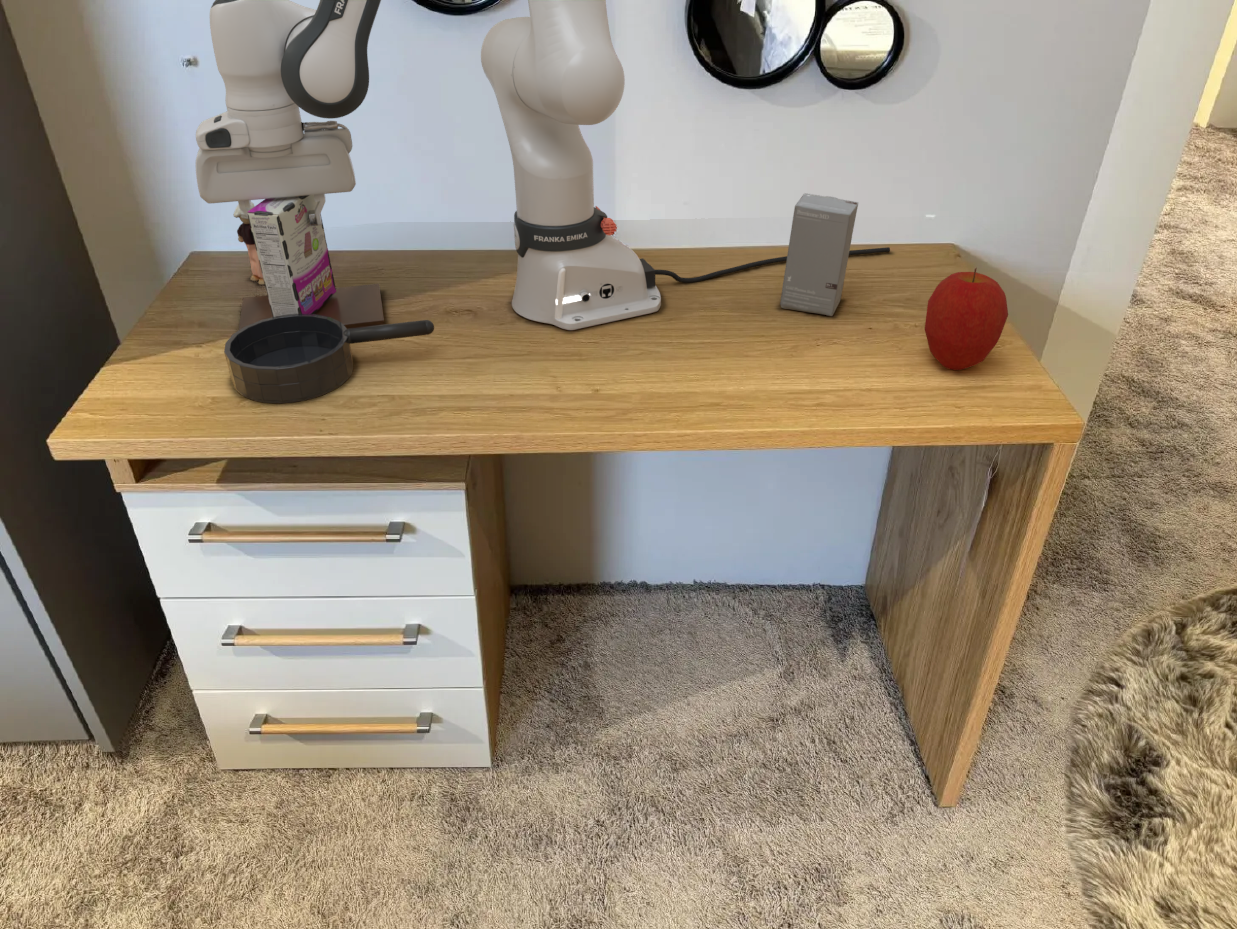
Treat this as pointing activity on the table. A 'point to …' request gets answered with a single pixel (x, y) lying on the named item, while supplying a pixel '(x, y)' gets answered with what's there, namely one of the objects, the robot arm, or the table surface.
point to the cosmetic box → (818, 254)
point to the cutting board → (328, 307)
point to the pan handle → (389, 331)
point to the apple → (965, 319)
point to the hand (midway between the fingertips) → (287, 227)
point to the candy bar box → (292, 255)
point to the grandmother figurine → (249, 244)
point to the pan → (289, 358)
